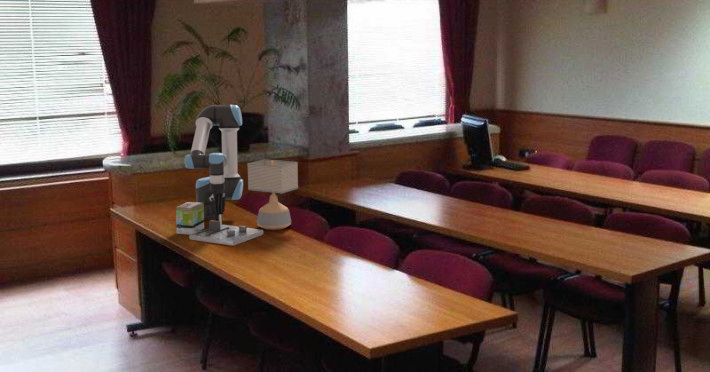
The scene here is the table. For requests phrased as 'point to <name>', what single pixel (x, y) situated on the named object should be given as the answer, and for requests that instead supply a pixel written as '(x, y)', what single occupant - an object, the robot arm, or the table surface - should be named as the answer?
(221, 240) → the console
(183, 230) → the tea box
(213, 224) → the cap
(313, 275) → the table surface
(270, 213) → the desk lamp
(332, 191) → the table surface
